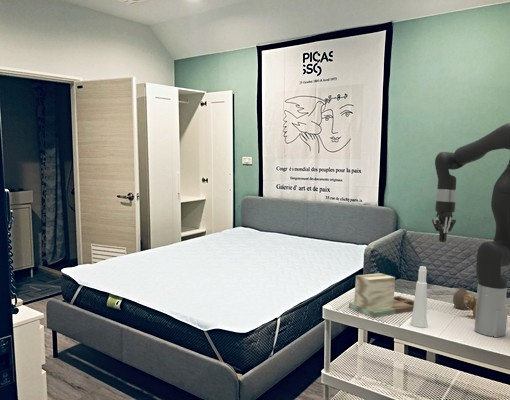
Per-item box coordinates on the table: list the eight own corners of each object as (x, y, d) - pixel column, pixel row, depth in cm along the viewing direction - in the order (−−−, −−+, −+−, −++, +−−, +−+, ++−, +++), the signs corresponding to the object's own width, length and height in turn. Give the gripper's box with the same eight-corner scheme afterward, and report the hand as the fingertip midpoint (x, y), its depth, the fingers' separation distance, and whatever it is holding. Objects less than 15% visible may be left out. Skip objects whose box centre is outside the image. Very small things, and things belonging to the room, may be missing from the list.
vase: (454, 309, 188) (455, 289, 187) (450, 305, 194) (452, 285, 194) (471, 311, 186) (473, 291, 186) (467, 306, 193) (469, 287, 192)
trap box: (425, 309, 186) (425, 304, 186) (373, 317, 171) (374, 312, 171) (399, 300, 198) (399, 295, 198) (348, 307, 183) (349, 302, 183)
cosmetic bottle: (409, 321, 168) (413, 264, 167) (426, 323, 167) (430, 266, 166) (410, 326, 162) (415, 267, 161) (428, 328, 161) (432, 269, 160)
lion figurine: (460, 316, 178) (462, 294, 177) (464, 314, 182) (466, 292, 181) (501, 326, 168) (503, 303, 168) (504, 323, 172) (506, 300, 172)
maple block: (393, 306, 180) (395, 277, 180) (368, 310, 173) (370, 280, 173) (378, 301, 187) (380, 273, 187) (354, 304, 180) (356, 275, 180)
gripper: (443, 200, 176) (440, 243, 177) (463, 201, 183) (460, 242, 184) (427, 199, 183) (424, 241, 184) (447, 200, 189) (444, 240, 190)
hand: (442, 241), depth 184 cm, fingers closed
